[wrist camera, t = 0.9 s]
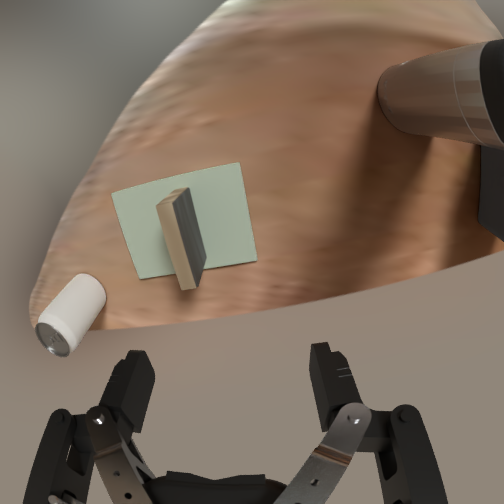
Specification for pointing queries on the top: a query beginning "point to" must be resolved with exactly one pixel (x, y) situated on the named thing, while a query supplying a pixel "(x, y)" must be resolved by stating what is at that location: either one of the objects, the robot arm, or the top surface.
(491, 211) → the storage bin
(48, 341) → the can
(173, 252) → the tile
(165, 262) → the mat
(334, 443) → the robot arm
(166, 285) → the top surface
